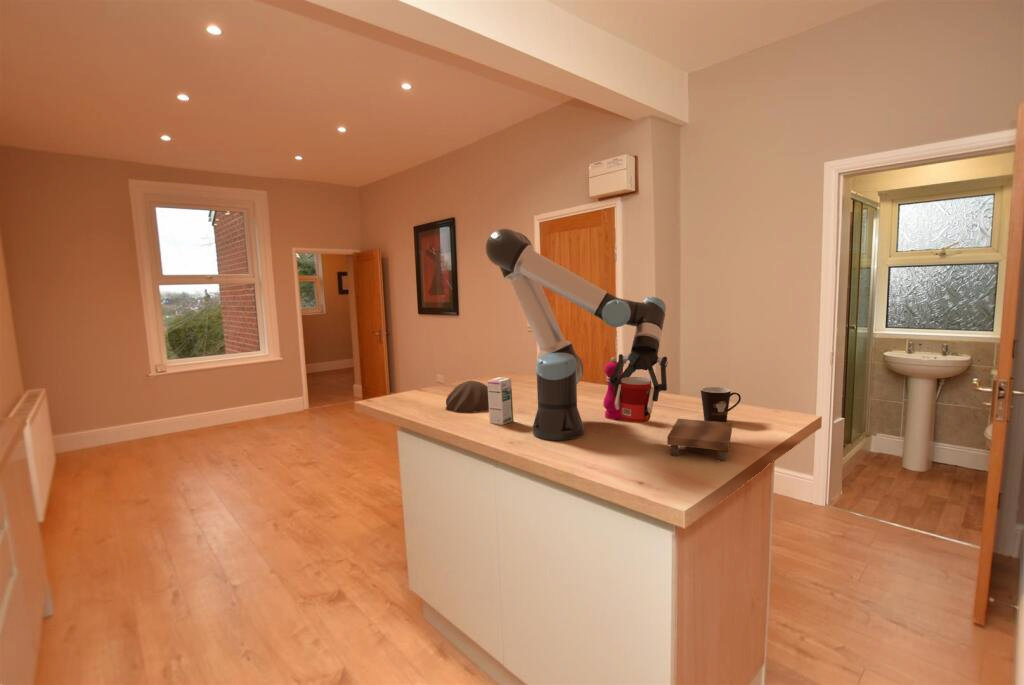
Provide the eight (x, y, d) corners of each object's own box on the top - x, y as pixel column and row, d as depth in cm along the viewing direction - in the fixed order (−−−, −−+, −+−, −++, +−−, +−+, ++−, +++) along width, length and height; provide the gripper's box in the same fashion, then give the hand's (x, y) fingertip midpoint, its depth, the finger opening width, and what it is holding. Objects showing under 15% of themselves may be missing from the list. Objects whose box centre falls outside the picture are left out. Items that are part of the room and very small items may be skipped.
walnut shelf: (667, 456, 122) (667, 436, 121) (677, 435, 138) (677, 418, 137) (728, 463, 116) (728, 442, 115) (731, 440, 132) (732, 423, 131)
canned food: (651, 423, 128) (652, 382, 127) (620, 422, 130) (621, 381, 129) (649, 415, 136) (650, 377, 134) (620, 414, 137) (620, 376, 136)
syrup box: (503, 425, 155) (501, 381, 154) (488, 423, 159) (486, 379, 157) (513, 421, 160) (512, 378, 158) (499, 418, 163) (497, 376, 162)
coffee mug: (700, 423, 148) (700, 392, 147) (700, 416, 156) (700, 386, 155) (742, 426, 144) (742, 393, 143) (740, 419, 152) (740, 387, 151)
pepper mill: (628, 415, 161) (628, 356, 159) (621, 420, 155) (620, 359, 153) (608, 413, 165) (607, 355, 163) (600, 418, 159) (599, 358, 157)
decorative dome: (477, 398, 197) (476, 374, 196) (507, 406, 181) (506, 380, 180) (435, 406, 185) (434, 381, 184) (463, 416, 169) (462, 388, 168)
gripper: (684, 351, 140) (674, 420, 127) (613, 348, 149) (597, 411, 137) (682, 335, 134) (672, 405, 122) (609, 332, 144) (592, 397, 131)
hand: (632, 408), depth 129 cm, fingers closed on canned food, 8 cm apart
